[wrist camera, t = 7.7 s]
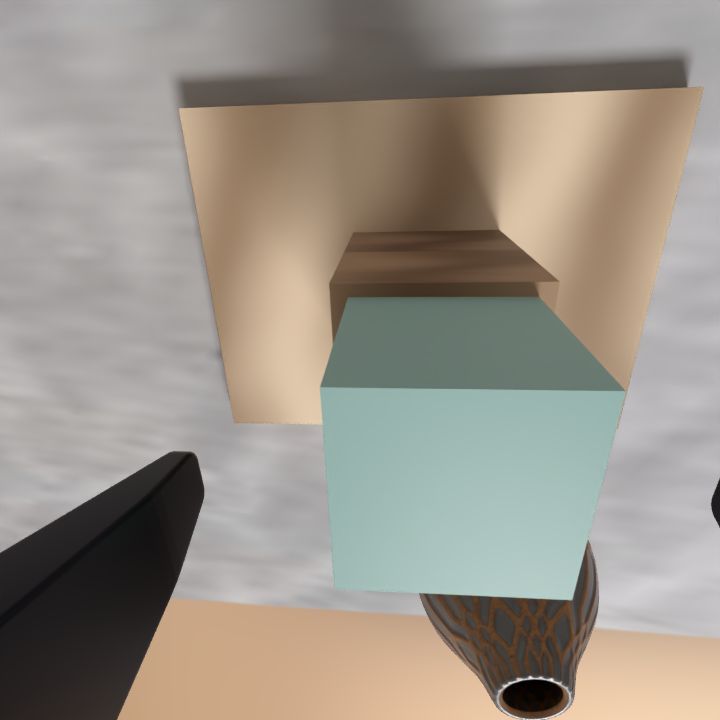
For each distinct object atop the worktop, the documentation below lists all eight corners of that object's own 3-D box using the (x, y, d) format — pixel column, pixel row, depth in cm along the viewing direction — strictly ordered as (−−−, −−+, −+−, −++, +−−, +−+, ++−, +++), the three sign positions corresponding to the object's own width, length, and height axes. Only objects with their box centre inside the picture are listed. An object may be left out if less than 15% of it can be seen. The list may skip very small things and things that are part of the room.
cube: (538, 296, 10) (625, 391, 6) (515, 453, 12) (571, 600, 8) (348, 297, 10) (319, 387, 7) (353, 449, 12) (334, 589, 8)
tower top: (522, 249, 13) (559, 281, 10) (503, 404, 15) (529, 467, 12) (343, 252, 13) (329, 283, 10) (350, 402, 15) (340, 463, 12)
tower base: (499, 229, 16) (522, 249, 13) (486, 361, 18) (503, 404, 15) (353, 232, 16) (343, 252, 13) (358, 361, 18) (350, 402, 15)
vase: (527, 412, 20) (615, 597, 12) (580, 522, 22) (683, 736, 14) (384, 470, 21) (378, 662, 13) (447, 564, 24) (473, 775, 16)
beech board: (688, 89, 14) (704, 86, 13) (609, 417, 19) (617, 428, 19) (188, 109, 15) (178, 108, 15) (239, 413, 21) (234, 423, 20)
